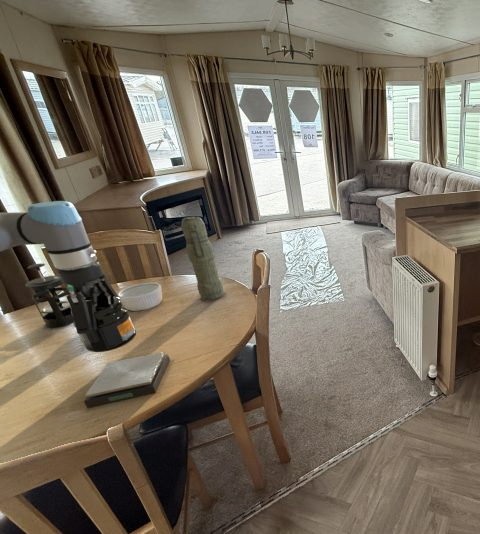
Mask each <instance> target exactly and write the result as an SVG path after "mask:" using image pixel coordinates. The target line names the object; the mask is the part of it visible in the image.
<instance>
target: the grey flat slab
mask: <svg viewBox="0 0 480 534" xmlns="http://www.w3.org/2000/svg"><path fill="white" fill-rule="evenodd" d="M164 355H166V353H165V351H163V352H158V353H153V354H148V355H141V356H137V357H132V358H126V359H121V360H115V361H110V362H107V363H106V364H105V366H104V367H103V369H102V370H101V372H100V373H99V374H98V376H97V377H96V379H95V380H94V382H93V384H92V385H91V386H90V387H89V389H88V390H87V392H86V393H85V398H87V397H92V396H96V395H101V394H106V393H110V392H115V391H120V390H124V389H129V388H134V387H138V386H143V385H148V384H151V382H152V380H153V378H154V376H155V374H156V372H157V370H158V368H159V366H160V364H161V361H162V359H163V357H164Z"/></svg>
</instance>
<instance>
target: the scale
mask: <svg viewBox="0 0 480 534" xmlns="http://www.w3.org/2000/svg"><path fill="white" fill-rule="evenodd" d="M170 362H171V359H170V356H169V354H166V353H165V355H164V357H163V359H162V361H161V364H160V366H159V368H158V370H157V372H156V374H155V376H154V378H153V380H152V382H151V384H148V385H143V386H138V387H134V388H129V389H124V390H120V391H115V392H110V393H106V394H101V395H96V396H92V397H87V398H86V397H85V398H84V400H83V403H84V404H85V407H86V408H87V409H88V408H94V407H98V406H103V405H107V404H112V403H115V402H116V403H117V402H119V401H120V402H121V401H125V400H129V399H130V400H131V399H134V398H139V397H143V396H148V395H151V394H156V393H157V391H158V389H159V387H160V385H161V383H162V380H163V377H164V376H165V373H166V371H167V369H168V366H169V365H170Z"/></svg>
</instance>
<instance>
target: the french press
mask: <svg viewBox="0 0 480 534" xmlns="http://www.w3.org/2000/svg"><path fill="white" fill-rule="evenodd" d="M44 266H46V263H34V264H31V265H29V266H27V269H28V270H30V269H32V270H33V269H35V270H36V271H37V272H38V273H39V275H40V277H37V278H34V279H32V280H29V281H27V282H26V283H25V284H24V285H25V287H27V288H29V289H30V290H31V291H32V292H36V293H33V294H32V296H31V299H32V301H33V303H34V305H35V306H36V309H37V310H38V312H39V314H40V317H41V318H42V321H44V322H43V323H44V324H45V325H44V326H45V327H46V328H48V329H56V328H62V327H66V326H69V325H72V324H74V318H73V316H72V314H71V306H70V304H69V302H68V300H61V298H64V297H67V296H68V295H71V293H70V292H69V290H68V288H67V287H66V286H65V287H64V286H61V285H63V284H64V283H63V282H62V281H61V278H60V276H59V275H47V276H43V274H42V272H41V268H42V267H44ZM63 291H64V292H63ZM57 292H62V293H59V294H57ZM46 294H49V297H41V298H38V297H40V296H42V295H46ZM45 302H48V304H47V305H44V306H43V307H41V308H40V306H39V305H38V303H45Z"/></svg>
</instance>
